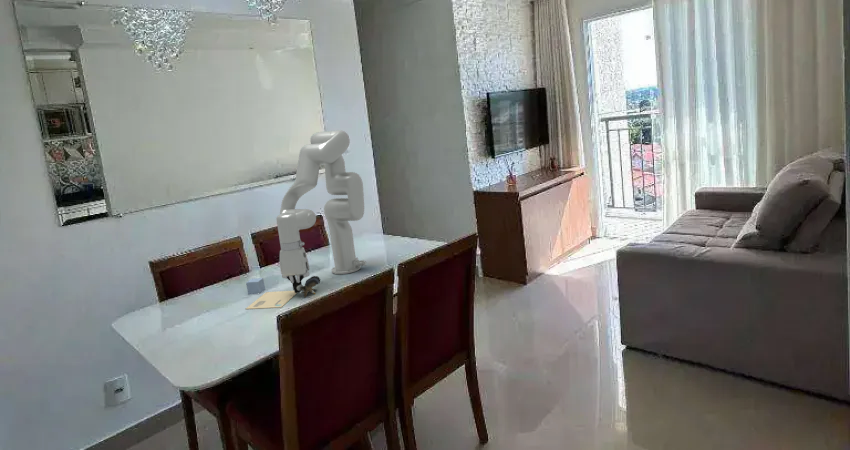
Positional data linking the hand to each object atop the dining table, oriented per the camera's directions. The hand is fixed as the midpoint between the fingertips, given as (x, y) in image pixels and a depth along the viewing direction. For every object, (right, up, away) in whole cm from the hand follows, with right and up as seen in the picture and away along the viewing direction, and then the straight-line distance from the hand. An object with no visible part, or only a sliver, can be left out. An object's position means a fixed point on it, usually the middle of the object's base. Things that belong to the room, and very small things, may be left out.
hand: (298, 291), depth 210 cm
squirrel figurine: (+5, -1, 0) cm, 5 cm away
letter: (-9, -3, -2) cm, 10 cm away
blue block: (-19, -1, +11) cm, 22 cm away
